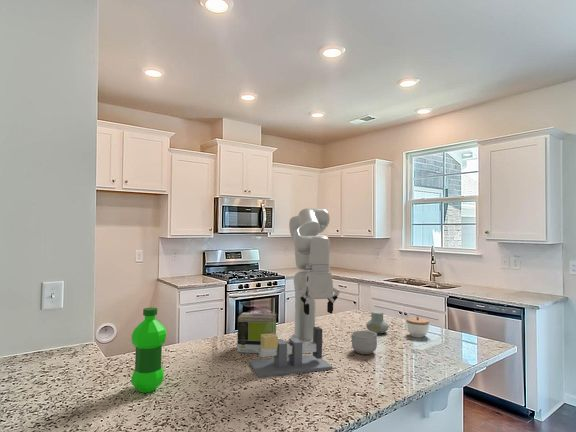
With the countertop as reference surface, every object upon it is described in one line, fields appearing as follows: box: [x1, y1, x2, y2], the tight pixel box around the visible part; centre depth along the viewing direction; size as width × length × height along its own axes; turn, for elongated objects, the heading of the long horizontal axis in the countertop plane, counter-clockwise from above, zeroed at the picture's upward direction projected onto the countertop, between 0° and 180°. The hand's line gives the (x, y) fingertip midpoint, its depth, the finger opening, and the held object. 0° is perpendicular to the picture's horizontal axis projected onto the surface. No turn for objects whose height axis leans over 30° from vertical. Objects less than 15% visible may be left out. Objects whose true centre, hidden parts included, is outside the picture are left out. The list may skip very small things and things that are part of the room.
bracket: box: [248, 337, 333, 378], centre depth 142 cm, size 14×28×10 cm, turn 110°
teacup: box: [350, 329, 378, 355], centre depth 162 cm, size 14×11×8 cm
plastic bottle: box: [130, 307, 167, 393], centre depth 120 cm, size 10×10×25 cm
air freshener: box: [365, 310, 389, 335], centre depth 193 cm, size 11×8×10 cm
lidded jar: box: [405, 316, 430, 338], centre depth 188 cm, size 11×11×9 cm
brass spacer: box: [261, 333, 279, 349], centre depth 140 cm, size 5×5×4 cm
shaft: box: [257, 326, 323, 359], centre depth 142 cm, size 4×24×11 cm, turn 110°
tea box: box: [236, 312, 277, 354], centre depth 161 cm, size 15×10×15 cm, turn 84°
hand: (318, 313), depth 146 cm, fingers open, 9 cm apart
